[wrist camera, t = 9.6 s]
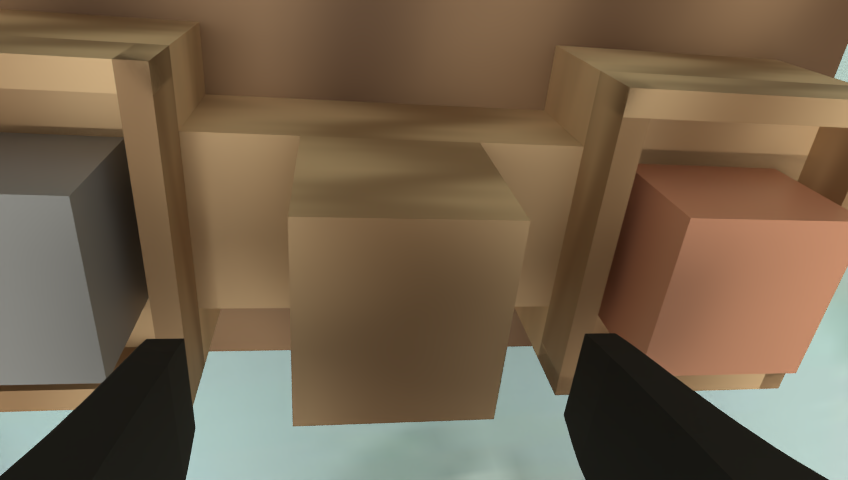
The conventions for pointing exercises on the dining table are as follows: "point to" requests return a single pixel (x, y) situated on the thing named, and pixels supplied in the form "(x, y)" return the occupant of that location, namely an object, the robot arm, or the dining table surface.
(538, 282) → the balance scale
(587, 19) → the dock
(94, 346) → the light grey cube
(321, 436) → the dining table surface
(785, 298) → the salmon orange block
